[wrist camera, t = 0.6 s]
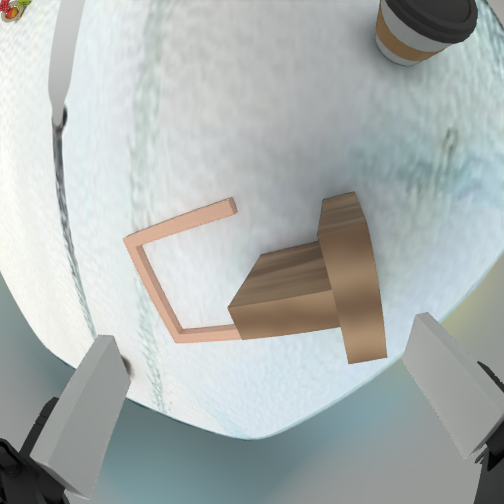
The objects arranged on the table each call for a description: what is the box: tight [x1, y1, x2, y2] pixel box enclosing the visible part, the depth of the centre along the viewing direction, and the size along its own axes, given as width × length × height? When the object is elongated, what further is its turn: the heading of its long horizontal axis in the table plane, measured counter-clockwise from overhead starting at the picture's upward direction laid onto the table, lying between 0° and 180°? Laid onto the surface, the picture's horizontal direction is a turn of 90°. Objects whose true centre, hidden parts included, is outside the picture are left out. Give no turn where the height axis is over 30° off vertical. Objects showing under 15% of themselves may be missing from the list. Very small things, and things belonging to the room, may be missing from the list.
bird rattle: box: [0, 0, 30, 22], centre depth 24 cm, size 6×11×9 cm
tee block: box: [228, 192, 387, 364], centre depth 30 cm, size 14×14×13 cm
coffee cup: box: [375, 0, 478, 66], centre depth 15 cm, size 8×8×15 cm
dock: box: [123, 198, 241, 343], centre depth 42 cm, size 21×20×2 cm
